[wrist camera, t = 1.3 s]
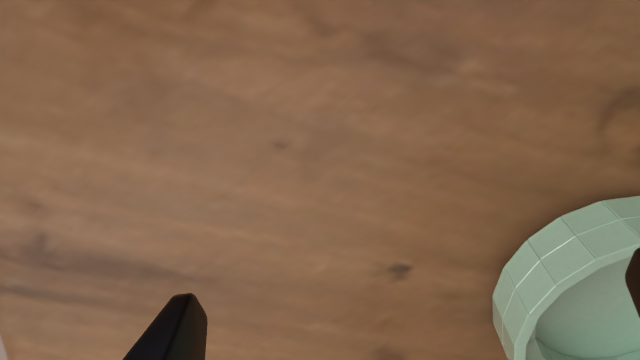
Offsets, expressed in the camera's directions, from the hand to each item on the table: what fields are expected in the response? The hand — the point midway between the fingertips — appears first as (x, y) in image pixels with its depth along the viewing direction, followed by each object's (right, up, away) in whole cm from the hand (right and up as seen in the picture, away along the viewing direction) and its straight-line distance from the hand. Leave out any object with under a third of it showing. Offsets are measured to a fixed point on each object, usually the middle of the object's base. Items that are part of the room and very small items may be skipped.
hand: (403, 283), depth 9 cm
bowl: (+15, -4, +17) cm, 23 cm away
